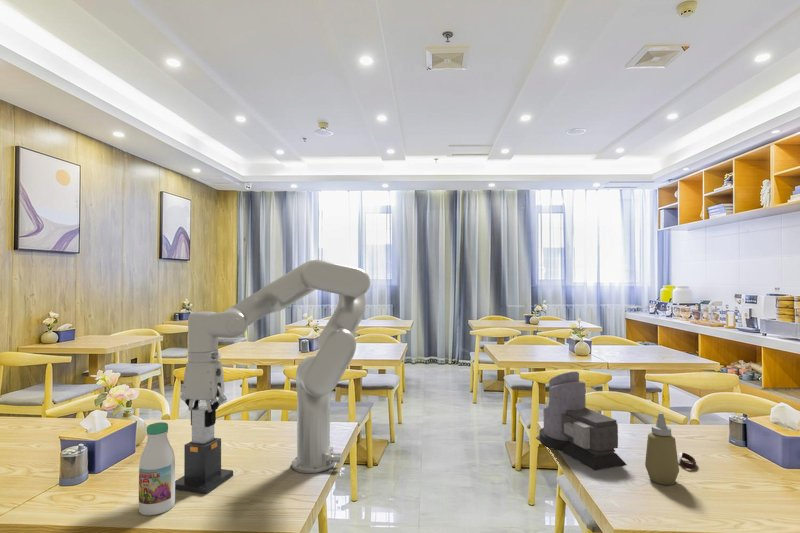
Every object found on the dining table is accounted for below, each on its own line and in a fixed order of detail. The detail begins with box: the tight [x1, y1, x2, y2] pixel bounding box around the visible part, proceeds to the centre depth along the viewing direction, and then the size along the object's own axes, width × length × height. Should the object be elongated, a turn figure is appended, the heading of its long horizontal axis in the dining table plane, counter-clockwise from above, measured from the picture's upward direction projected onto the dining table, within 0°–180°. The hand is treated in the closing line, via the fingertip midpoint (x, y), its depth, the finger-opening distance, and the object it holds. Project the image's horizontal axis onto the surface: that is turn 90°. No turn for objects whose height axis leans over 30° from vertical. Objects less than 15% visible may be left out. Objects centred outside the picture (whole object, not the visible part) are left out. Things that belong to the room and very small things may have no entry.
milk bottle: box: [138, 421, 176, 516], centre depth 109 cm, size 8×8×20 cm
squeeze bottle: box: [644, 412, 680, 486], centre depth 122 cm, size 8×8×18 cm
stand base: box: [175, 437, 234, 495], centre depth 122 cm, size 11×11×11 cm
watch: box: [677, 451, 697, 470], centre depth 132 cm, size 8×5×4 cm, turn 149°
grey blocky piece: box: [535, 371, 628, 471], centre depth 145 cm, size 30×16×24 cm, turn 18°
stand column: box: [191, 405, 215, 446], centre depth 123 cm, size 4×4×17 cm
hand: (203, 424), depth 123 cm, fingers closed on stand column, 4 cm apart
